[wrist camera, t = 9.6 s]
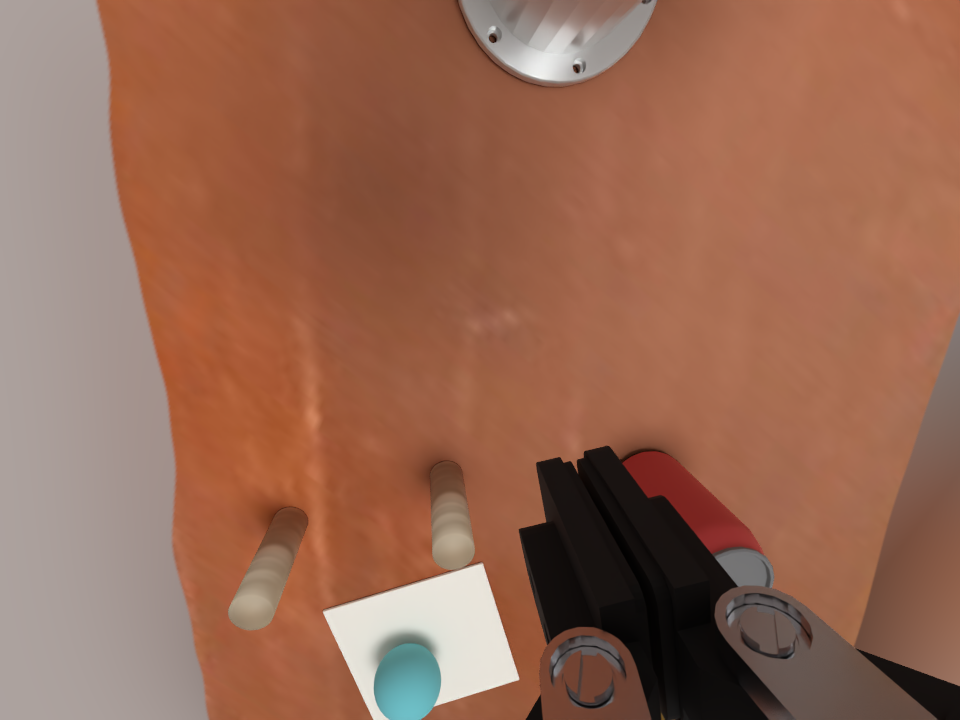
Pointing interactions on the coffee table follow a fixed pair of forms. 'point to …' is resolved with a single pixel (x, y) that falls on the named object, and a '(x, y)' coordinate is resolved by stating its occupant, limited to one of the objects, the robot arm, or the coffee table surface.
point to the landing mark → (428, 633)
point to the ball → (407, 682)
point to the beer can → (704, 517)
